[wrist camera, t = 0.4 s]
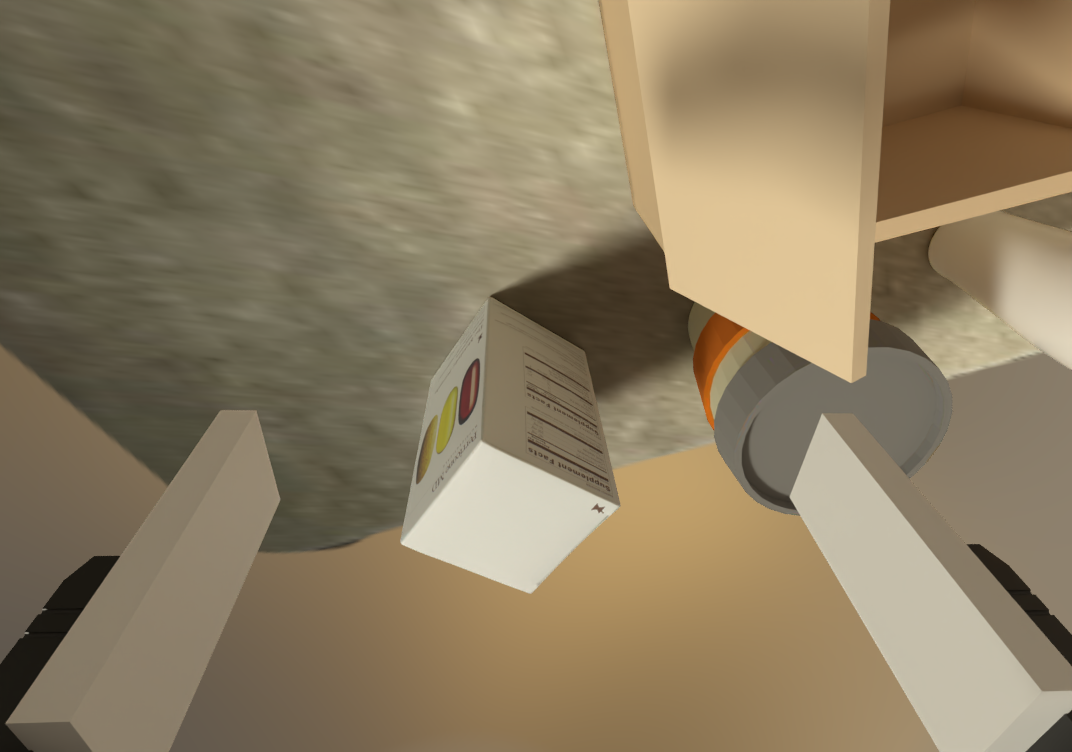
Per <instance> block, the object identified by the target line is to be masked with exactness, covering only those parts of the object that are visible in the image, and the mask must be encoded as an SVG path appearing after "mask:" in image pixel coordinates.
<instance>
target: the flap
mask: <svg viewBox="0 0 1072 752" xmlns="http://www.w3.org/2000/svg"><path fill="white" fill-rule="evenodd" d="M628 7H629V14H630V21H631V27H632V34H633V41H634V48H635V55H636V61H637V68H638V75H639V82H640V89H641V95H642V102H643V109H644V116H645V123H646V130H647V136H648V143H649V150H650V157H651V164H652V170H653V177H654V184H655V191H656V198H657V204H658V211H659V218H660V225H661V232H662V238H663V245H664V252H665V259H666V266H667V272H668V279H669V286H670V289H672V290H674V291H676V292H677V293H679V294H681V295H683V296H685V297H687V298H689V299H691V300H693V301H695V302H697V303H699V304H700V305H702V306H704V307H706V308H708V309H710V310H712V311H714V312H716V313H718V314H720V315H722V316H723V317H725V318H727V319H729V320H731V321H733V322H735V323H737V324H739V325H741V326H743V327H744V328H746V329H748V330H750V331H752V332H754V333H756V334H758V335H760V336H762V337H764V338H766V339H767V340H769V341H771V342H773V343H775V344H777V345H779V346H781V347H783V348H785V349H787V350H789V351H790V352H792V353H794V354H796V355H798V356H800V357H802V358H804V359H806V360H808V361H810V362H811V363H813V364H815V365H817V366H819V367H821V368H823V369H825V370H827V371H829V372H831V373H833V374H834V375H836V376H838V377H840V378H842V379H844V380H846V381H848V382H850V383H853V382H855V381H857V380H859V379H860V378H862V377H864V376H866V370H867V354H868V339H869V323H870V308H871V292H872V276H873V261H874V245H875V230H876V214H877V199H878V183H879V167H880V152H881V136H882V121H883V105H884V90H885V74H886V58H887V43H888V27H889V12H890V0H628Z"/></svg>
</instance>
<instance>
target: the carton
mask: <svg viewBox="0 0 1072 752" xmlns="http://www.w3.org/2000/svg"><path fill="white" fill-rule="evenodd" d="M599 6H600V12H601V18H602V24H603V30H604V35H605V41H606V47H607V53H608V59H609V65H610V71H611V77H612V82H613V88H614V94H615V100H616V106H617V112H618V118H619V124H620V129H621V135H622V141H623V147H624V153H625V159H626V165H627V171H628V176H629V182H630V188H631V194H632V200H633V206H634V208H635V209H636V211H637V212H638V214H639V215H640V217H641V218H642V220H643V221H644V223H645V224H646V226H647V227H648V228H649V230H650V231H651V233H652V234H653V236H654V237H655V239H656V240H657V242H658V243H659V245H660V246H661V248H662V249H663V251H664V245H663V238H662V232H661V225H660V218H659V211H658V204H657V198H656V191H655V184H654V177H653V170H652V164H651V157H650V150H649V143H648V136H647V130H646V123H645V116H644V109H643V102H642V95H641V89H640V82H639V75H638V68H637V61H636V55H635V48H634V41H633V34H632V27H631V21H630V14H629V7H628V0H599ZM1069 192H1072V0H890V12H889V27H888V43H887V58H886V74H885V90H884V105H883V121H882V136H881V152H880V167H879V183H878V199H877V214H876V230H875V243H876V242H880V241H883V240H887V239H891V238H895V237H899V236H903V235H907V234H911V233H914V232H918V231H922V230H926V229H930V228H934V227H938V226H941V225H945V224H949V223H953V222H957V221H961V220H965V219H969V218H972V217H976V216H980V215H984V214H988V213H992V212H996V211H999V210H1003V209H1007V208H1011V207H1015V206H1019V205H1023V204H1027V203H1030V202H1034V201H1038V200H1042V199H1046V198H1050V197H1054V196H1057V195H1061V194H1065V193H1069Z"/></svg>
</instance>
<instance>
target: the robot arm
mask: <svg viewBox="0 0 1072 752" xmlns="http://www.w3.org/2000/svg"><path fill="white" fill-rule="evenodd" d="M790 499H791V501H792V502H793V504H794V506H795V507H796V509H797V511H798V512H799V514H800V516H801V517H802V519H803V521H804V523H805V524H806V526H807V528H808V529H809V531H810V533H811V534H812V536H813V538H814V540H815V541H816V543H817V545H818V546H819V548H820V549H821V551H822V553H823V555H824V556H825V558H826V560H827V562H828V563H829V565H830V567H831V568H832V570H833V572H834V573H835V575H836V577H837V578H838V580H839V582H840V583H841V585H842V587H843V589H844V590H845V592H846V594H847V595H848V597H849V599H850V601H851V602H852V604H853V606H854V607H855V609H856V611H857V612H858V614H859V616H860V617H861V619H862V621H863V623H864V624H865V626H866V628H867V629H868V631H869V633H870V634H871V636H872V638H873V639H874V641H875V643H876V645H877V646H878V648H879V649H880V651H881V653H882V655H883V656H884V658H885V660H886V662H887V663H888V665H889V667H890V668H891V670H892V672H893V673H894V675H895V677H896V679H897V680H898V682H899V684H900V685H901V687H902V688H903V690H904V692H905V694H906V695H907V697H908V699H909V701H910V702H911V704H912V706H913V707H914V709H915V711H916V712H917V714H918V716H919V718H920V719H921V721H922V723H923V724H924V726H925V728H926V729H927V731H928V733H929V734H930V736H931V738H932V739H933V741H934V743H935V745H936V746H937V748H938V750H939V751H940V752H1072V635H1071V634H1070V632H1068V630H1067V629H1066V628H1065V627H1064V626H1063V625H1062V624H1061V623H1060V621H1059V620H1058V619H1057V618H1056V617H1055V616H1054V615H1050V614H1049V609H1048V608H1047V607H1046V606H1045V605H1044V604H1043V603H1042V602H1041V601H1040V599H1039V598H1038V597H1037V596H1036V595H1032V594H1031V592H1030V588H1029V587H1028V586H1027V585H1026V584H1025V583H1024V582H1023V581H1022V580H1021V579H1020V578H1019V576H1018V575H1017V574H1016V573H1015V572H1014V571H1013V570H1012V569H1011V568H1010V566H1009V565H1007V564H1006V563H1004V562H1003V561H1002V560H1000V559H999V558H998V557H996V556H995V555H993V554H992V553H991V552H989V551H988V550H987V549H985V548H984V547H983V546H981V545H980V544H965V542H964V541H963V540H962V539H961V538H960V537H959V535H958V534H957V533H956V532H955V531H954V530H953V529H952V527H951V526H950V525H949V524H948V523H947V522H946V520H945V519H944V518H943V517H942V516H941V515H940V513H939V512H938V511H937V510H936V509H935V508H934V507H933V505H931V503H930V502H929V501H928V500H927V498H926V497H925V496H924V495H923V494H922V493H921V492H920V490H919V489H918V488H917V487H916V486H915V485H914V483H913V482H912V481H911V480H910V479H909V478H908V477H907V475H906V474H905V473H904V472H903V471H902V470H901V468H900V467H899V466H898V465H897V464H896V463H895V462H894V460H893V459H892V458H891V457H890V456H889V455H888V453H887V452H886V451H885V450H884V449H883V448H882V447H881V445H880V444H879V443H878V442H877V441H876V440H875V438H874V437H873V436H872V435H871V434H870V433H869V431H868V430H867V429H866V428H865V427H864V426H863V425H862V423H861V422H860V421H859V420H858V419H857V418H856V416H855V415H854V414H853V413H822V415H821V418H820V420H819V423H818V425H817V428H816V430H815V433H814V436H813V438H812V441H811V443H810V446H809V448H808V451H807V453H806V456H805V459H804V461H803V464H802V466H801V469H800V471H799V474H798V476H797V479H796V482H795V484H794V487H793V489H792V492H791V494H790ZM279 502H280V497H279V493H278V489H277V486H276V482H275V478H274V474H273V471H272V467H271V463H270V460H269V456H268V452H267V448H266V445H265V441H264V437H263V434H262V430H261V426H260V422H259V419H258V415H257V411H256V410H221V411H220V412H219V413H218V415H217V416H216V418H215V419H214V421H213V422H212V424H211V425H210V427H209V428H208V429H207V431H206V432H205V434H204V435H203V437H202V438H201V440H200V441H199V443H198V444H197V445H196V447H195V448H194V450H193V451H192V453H191V454H190V456H189V457H188V459H187V460H186V461H185V463H184V464H183V466H182V467H181V469H180V470H179V472H178V473H177V475H176V476H175V477H174V479H173V480H172V482H171V483H170V485H169V486H168V488H167V489H166V491H165V492H164V493H163V495H162V497H161V498H160V499H159V501H158V502H157V504H156V505H155V507H154V508H153V509H152V511H151V512H150V514H149V515H148V517H147V518H146V520H145V521H144V523H143V524H142V525H141V527H140V529H139V530H138V531H137V533H136V534H135V536H134V537H133V539H132V540H131V541H130V543H129V545H128V546H127V547H126V549H125V550H124V552H123V553H122V555H121V556H94V557H93V558H91V559H90V560H89V561H88V562H86V563H85V564H84V565H83V566H81V567H80V568H79V569H78V570H76V571H75V572H74V573H73V574H71V575H70V576H69V577H68V578H66V579H65V580H64V581H63V582H62V584H61V585H60V586H59V588H58V589H57V590H56V591H55V593H54V594H53V595H52V597H51V598H50V599H49V601H48V602H47V603H46V605H45V606H44V607H43V609H42V610H43V611H42V614H39V615H37V617H36V618H35V619H34V620H33V622H32V623H31V625H30V626H29V627H28V629H27V630H26V631H25V636H24V638H20V639H19V640H18V642H17V643H16V645H15V646H14V647H13V648H12V650H11V651H10V652H9V654H8V655H7V656H6V658H5V659H4V660H3V661H2V663H1V664H0V752H169V750H170V748H171V745H172V743H173V741H174V739H175V737H176V734H177V732H178V730H179V728H180V725H181V723H182V721H183V718H184V716H185V714H186V712H187V709H188V707H189V705H190V703H191V700H192V698H193V696H194V694H195V691H196V689H197V687H198V685H199V682H200V680H201V678H202V676H203V673H204V671H205V669H206V666H207V664H208V662H209V660H210V658H211V655H212V653H213V651H214V648H215V646H216V644H217V642H218V639H219V637H220V635H221V633H222V630H223V628H224V626H225V624H226V621H227V619H228V617H229V615H230V612H231V610H232V608H233V606H234V603H235V601H236V599H237V597H238V594H239V592H240V590H241V587H242V585H243V583H244V581H245V578H246V576H247V574H248V572H249V569H250V567H251V565H252V563H253V560H254V558H255V556H256V553H257V551H258V549H259V547H260V545H261V542H262V540H263V538H264V536H265V533H266V531H267V529H268V526H269V524H270V522H271V520H272V517H273V515H274V513H275V511H276V508H277V506H278V504H279Z"/></svg>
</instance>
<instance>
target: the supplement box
mask: <svg viewBox="0 0 1072 752" xmlns="http://www.w3.org/2000/svg"><path fill="white" fill-rule="evenodd" d="M619 507H620V501H619V497H618V492H617V488H616V484H615V480H614V475H613V471H612V466H611V462H610V458H609V453H608V449H607V445H606V440H605V436H604V433H603V428H602V424H601V420H600V415H599V410H598V406H597V402H596V397H595V394H594V389H593V385H592V380H591V376H590V372H589V367H588V363H587V359H586V354H585V351H583V350H582V349H580V348H578V347H577V346H575V345H573V344H571V343H570V342H568V341H566V340H565V339H563V338H561V337H559V336H558V335H556V334H554V333H552V332H551V331H549V330H547V329H545V328H544V327H542V326H540V325H539V324H537V323H535V322H533V321H532V320H530V319H528V318H527V317H525V316H523V315H522V314H520V313H518V312H516V311H515V310H513V309H511V308H509V307H508V306H506V305H504V304H503V303H501V302H499V301H497V300H496V299H494V298H492V297H489V298H488V299H487V300H486V302H485V303H484V305H483V306H482V308H481V309H480V310H479V312H478V313H477V315H476V316H475V318H474V319H473V320H472V322H471V323H470V325H469V326H468V328H467V329H466V331H465V332H464V333H463V335H462V336H461V338H460V339H459V341H458V342H457V344H456V345H455V346H454V348H453V349H452V351H451V352H450V354H449V355H448V357H447V358H446V359H445V361H444V362H443V364H442V365H441V367H440V368H439V370H438V371H437V372H436V374H435V375H434V377H433V379H432V380H431V385H430V389H429V395H428V400H427V405H426V410H425V416H424V421H423V426H422V431H421V437H420V442H419V448H418V452H417V457H416V463H415V468H414V473H413V479H412V484H411V489H410V495H409V499H408V505H407V510H406V515H405V520H404V525H403V530H402V537H401V544H402V545H404V546H407V547H409V548H411V549H413V550H416V551H419V552H421V553H423V554H426V555H429V556H432V557H434V558H437V559H440V560H442V561H445V562H448V563H450V564H453V565H456V566H458V567H461V568H464V569H466V570H469V571H471V572H474V573H477V574H479V575H482V576H485V577H487V578H490V579H492V580H495V581H498V582H500V583H503V584H505V585H508V586H511V587H513V588H516V589H519V590H522V591H525V592H527V593H532V592H533V591H534V590H535V589H536V588H537V587H538V586H539V585H540V584H541V583H542V581H544V580H545V578H547V576H548V575H549V574H550V573H551V572H552V571H553V570H554V569H555V568H556V567H557V566H558V565H559V564H560V563H561V562H562V561H563V560H564V559H565V558H566V557H567V556H568V555H569V554H570V553H571V552H572V551H573V550H574V549H575V548H576V547H577V546H578V545H579V544H580V543H581V542H582V541H583V540H584V539H585V538H586V537H587V536H588V535H589V534H591V533H592V532H593V531H594V530H595V529H596V528H597V527H598V526H599V525H600V524H601V523H602V522H603V521H604V520H606V519H607V518H608V517H609V516H610V515H611V514H613V513H614V512H615V511H616V510H617V509H618V508H619Z"/></svg>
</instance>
